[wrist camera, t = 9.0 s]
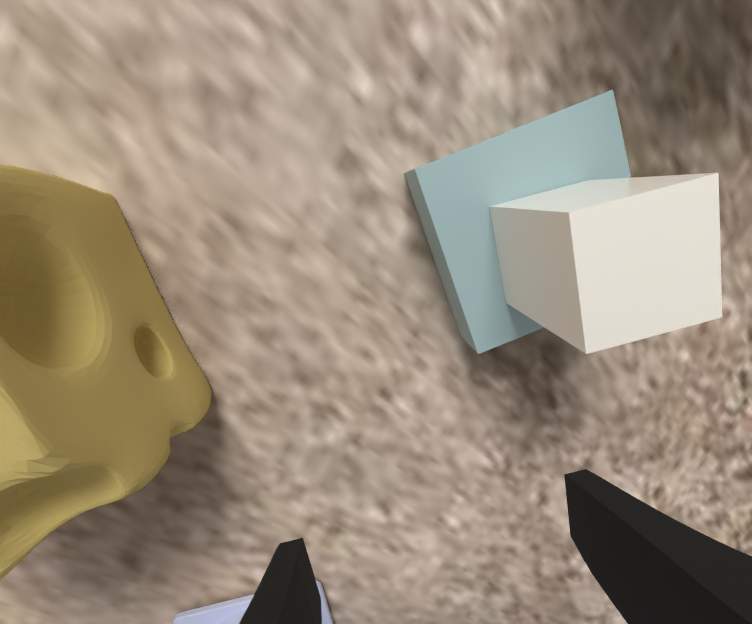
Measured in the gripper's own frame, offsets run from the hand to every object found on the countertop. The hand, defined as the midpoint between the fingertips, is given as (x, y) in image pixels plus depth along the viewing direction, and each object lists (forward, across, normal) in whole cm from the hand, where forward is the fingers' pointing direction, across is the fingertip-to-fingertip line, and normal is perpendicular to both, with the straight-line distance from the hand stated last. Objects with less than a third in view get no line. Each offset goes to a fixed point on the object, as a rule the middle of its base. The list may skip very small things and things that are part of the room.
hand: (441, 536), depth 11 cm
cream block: (+7, -7, -6) cm, 12 cm away
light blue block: (+10, -7, -6) cm, 14 cm away
